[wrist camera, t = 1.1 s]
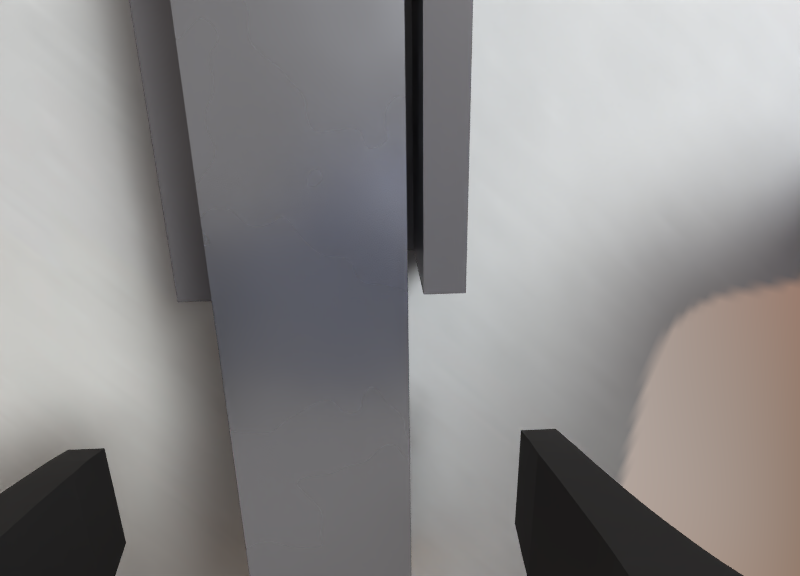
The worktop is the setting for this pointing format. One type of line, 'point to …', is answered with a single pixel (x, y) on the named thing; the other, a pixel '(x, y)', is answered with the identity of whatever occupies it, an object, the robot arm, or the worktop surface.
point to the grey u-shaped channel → (425, 141)
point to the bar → (307, 270)
